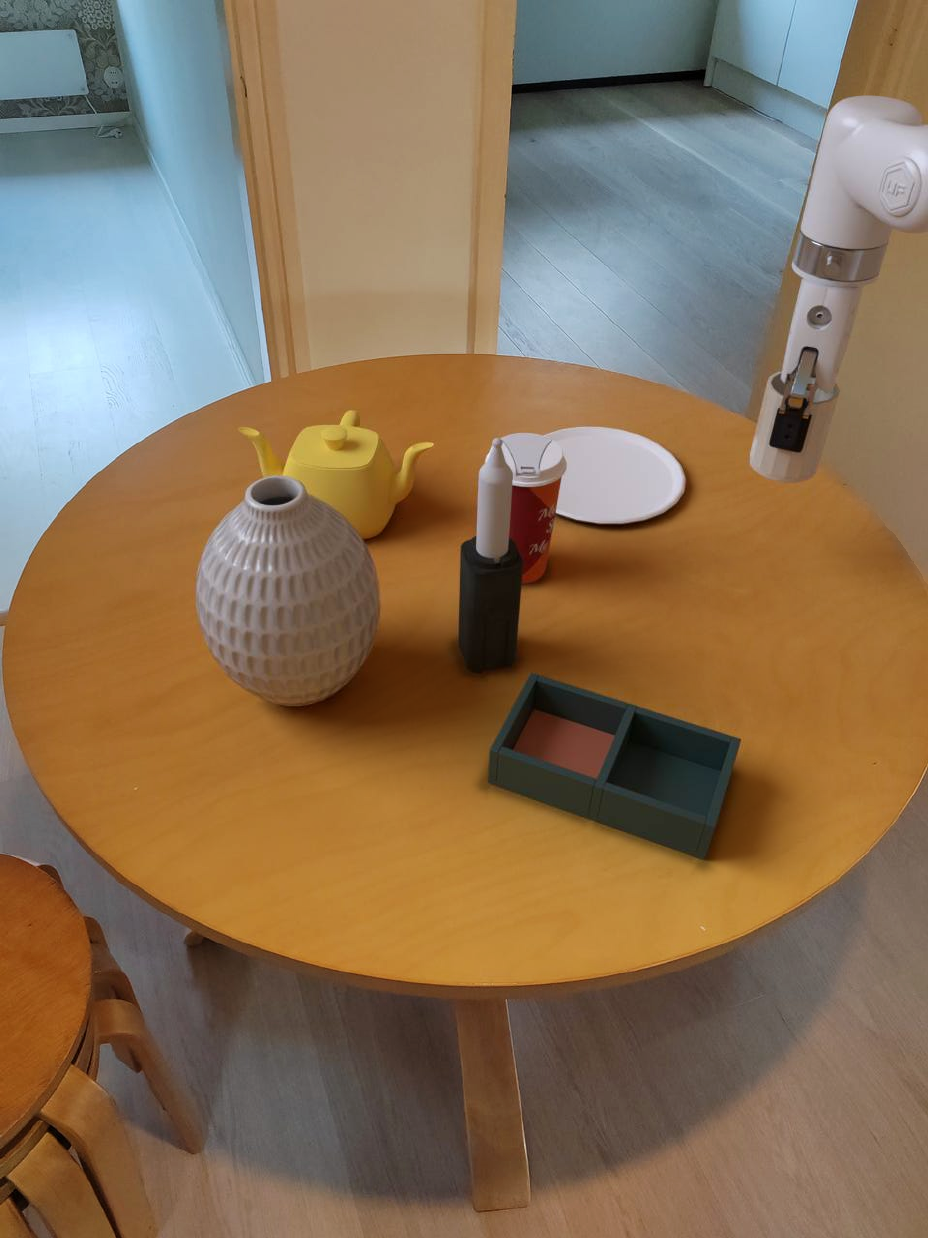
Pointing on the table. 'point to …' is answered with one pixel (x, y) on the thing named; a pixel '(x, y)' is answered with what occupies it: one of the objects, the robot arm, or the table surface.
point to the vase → (287, 595)
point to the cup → (805, 463)
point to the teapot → (345, 470)
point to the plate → (615, 476)
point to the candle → (490, 574)
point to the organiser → (614, 763)
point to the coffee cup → (533, 496)
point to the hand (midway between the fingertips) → (792, 428)
